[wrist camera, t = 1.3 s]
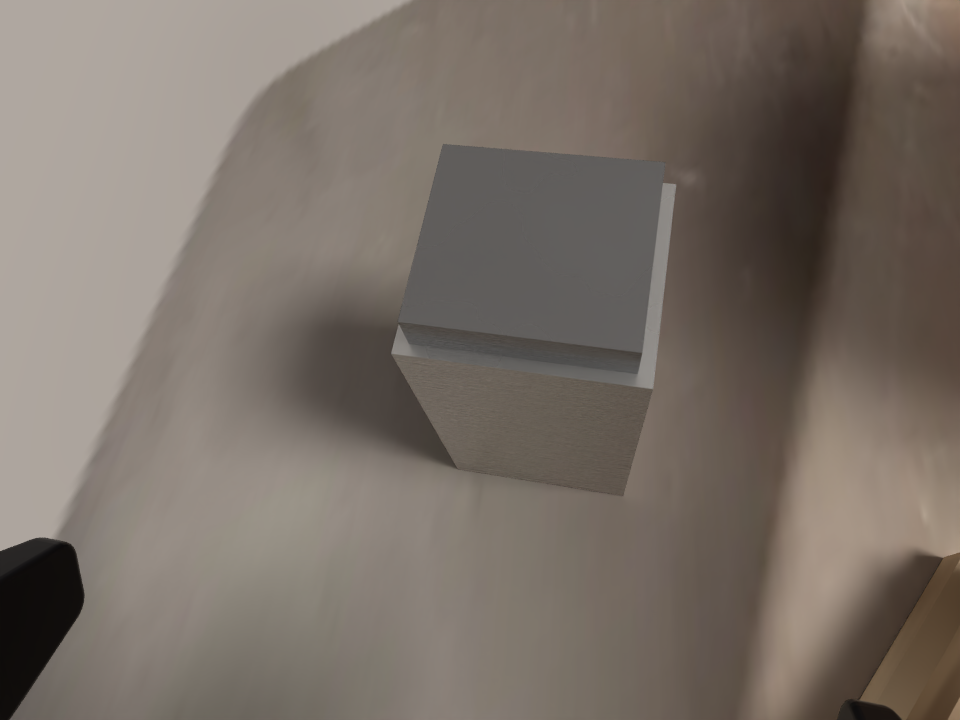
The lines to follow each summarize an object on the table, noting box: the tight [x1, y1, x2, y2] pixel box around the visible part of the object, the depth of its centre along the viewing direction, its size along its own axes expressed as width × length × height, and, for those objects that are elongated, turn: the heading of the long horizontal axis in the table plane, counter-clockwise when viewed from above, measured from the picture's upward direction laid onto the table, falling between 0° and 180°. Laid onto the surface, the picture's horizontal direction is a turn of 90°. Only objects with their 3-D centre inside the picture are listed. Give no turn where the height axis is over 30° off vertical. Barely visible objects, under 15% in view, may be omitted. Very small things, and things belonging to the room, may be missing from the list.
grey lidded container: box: [391, 144, 676, 496], centre depth 18 cm, size 4×5×10 cm
